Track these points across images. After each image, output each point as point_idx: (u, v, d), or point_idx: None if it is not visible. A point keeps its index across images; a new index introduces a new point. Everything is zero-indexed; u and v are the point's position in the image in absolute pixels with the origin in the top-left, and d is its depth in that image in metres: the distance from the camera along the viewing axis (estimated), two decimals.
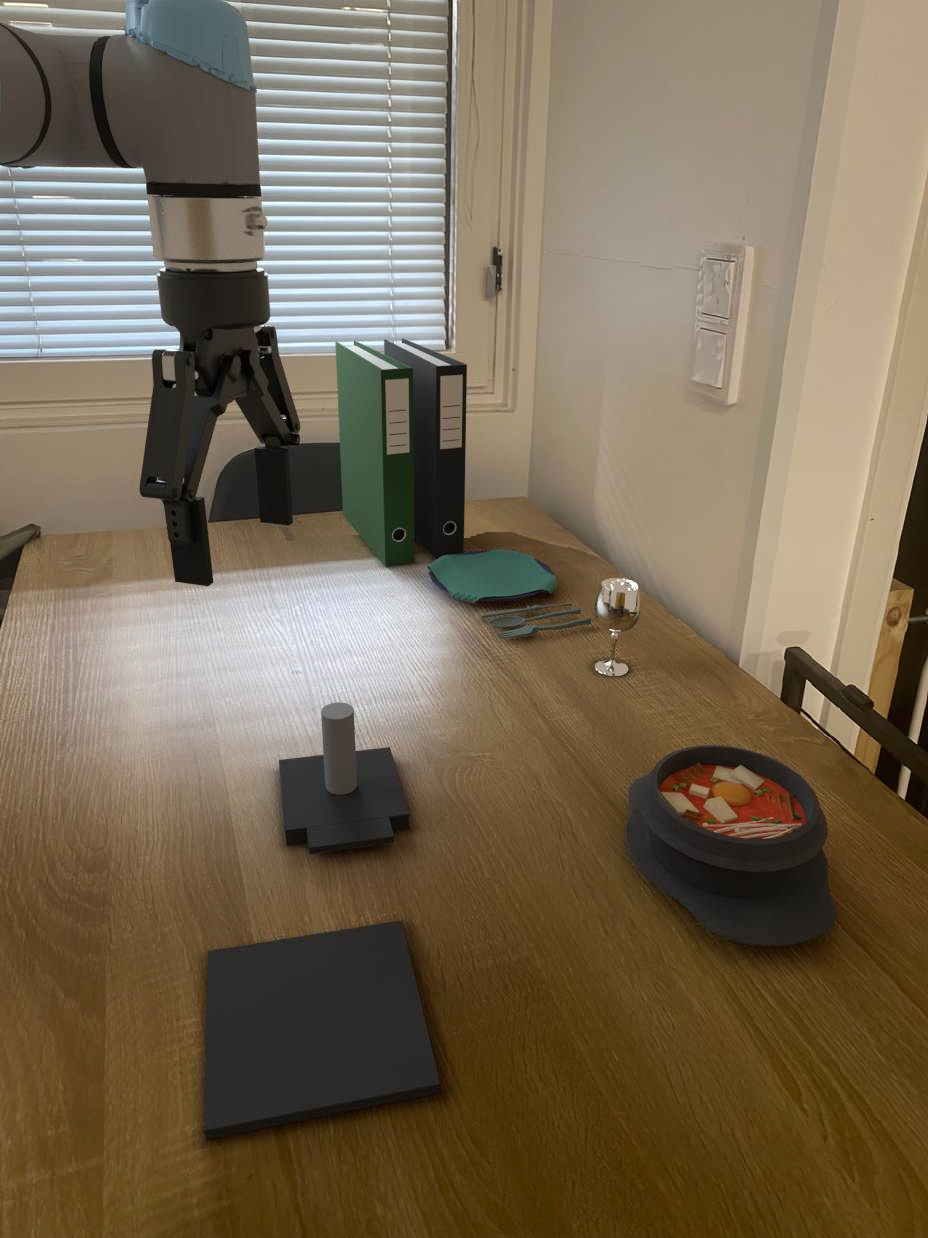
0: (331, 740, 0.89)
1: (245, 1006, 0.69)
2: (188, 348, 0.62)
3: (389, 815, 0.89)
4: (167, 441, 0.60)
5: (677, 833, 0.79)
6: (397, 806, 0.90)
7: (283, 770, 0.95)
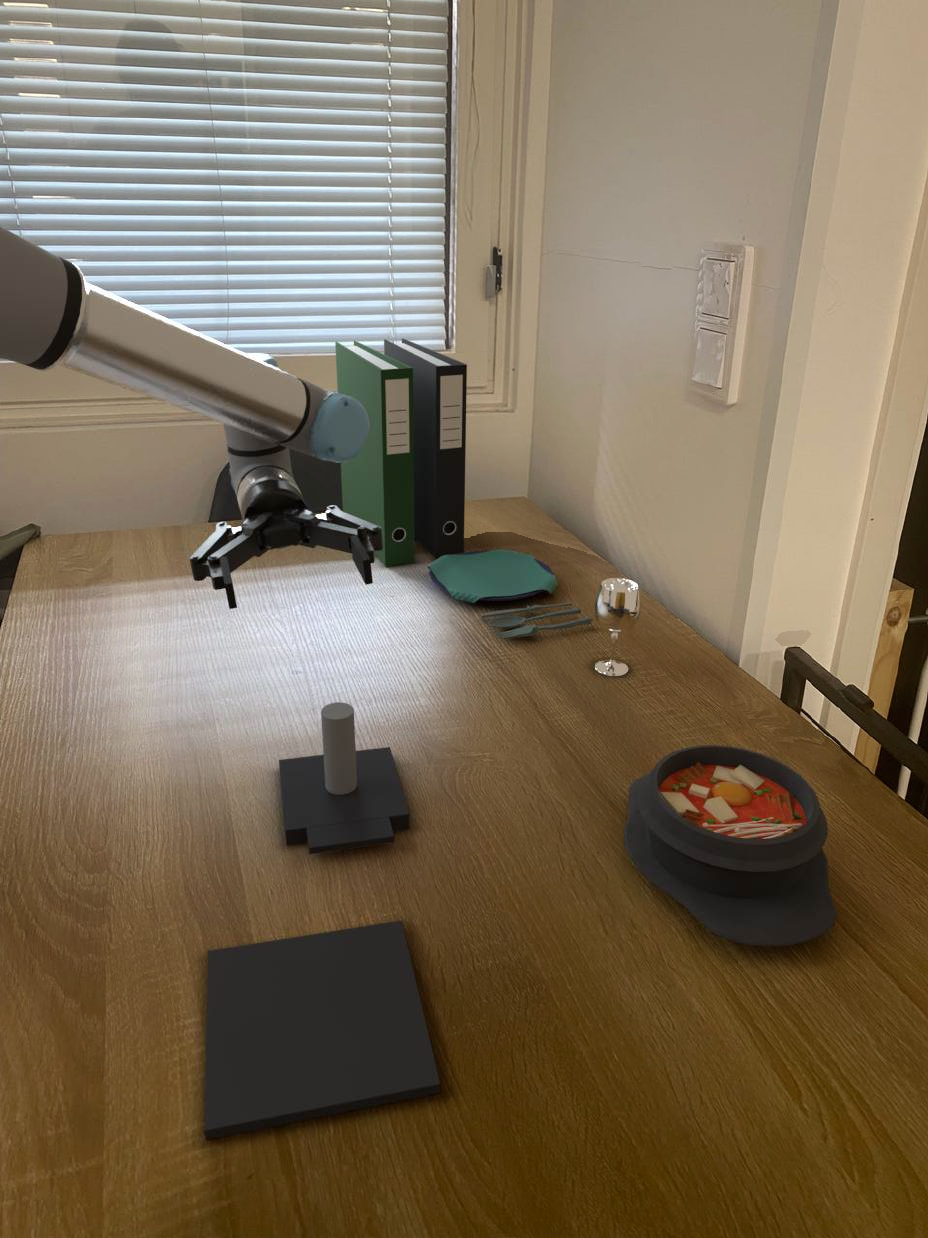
0: (331, 740, 0.89)
1: (245, 1006, 0.69)
2: None
3: (389, 815, 0.89)
4: None
5: (677, 833, 0.79)
6: (397, 806, 0.90)
7: (283, 770, 0.95)
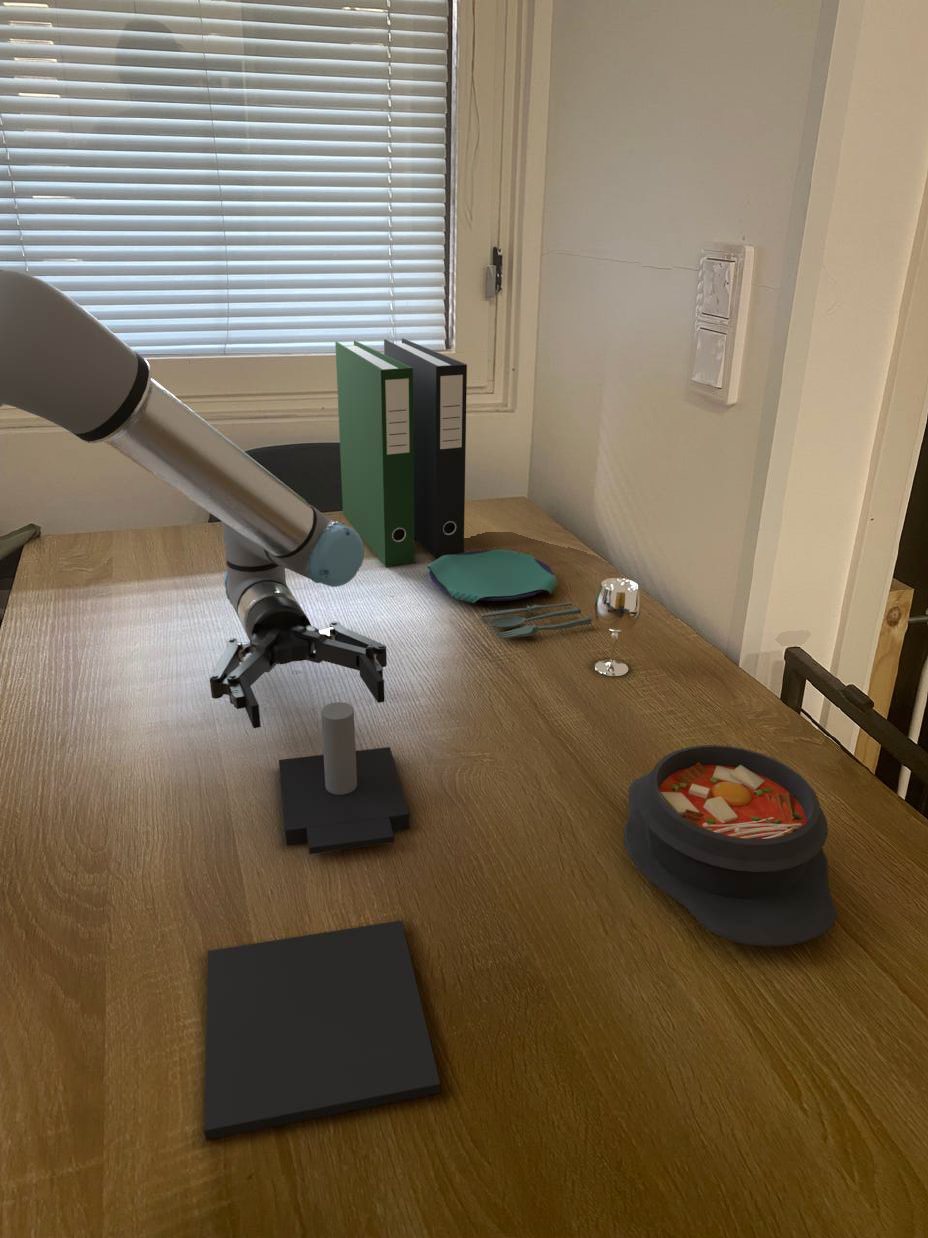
0: (331, 740, 0.89)
1: (245, 1006, 0.69)
2: None
3: (389, 815, 0.89)
4: None
5: (677, 833, 0.79)
6: (397, 806, 0.90)
7: (283, 770, 0.95)
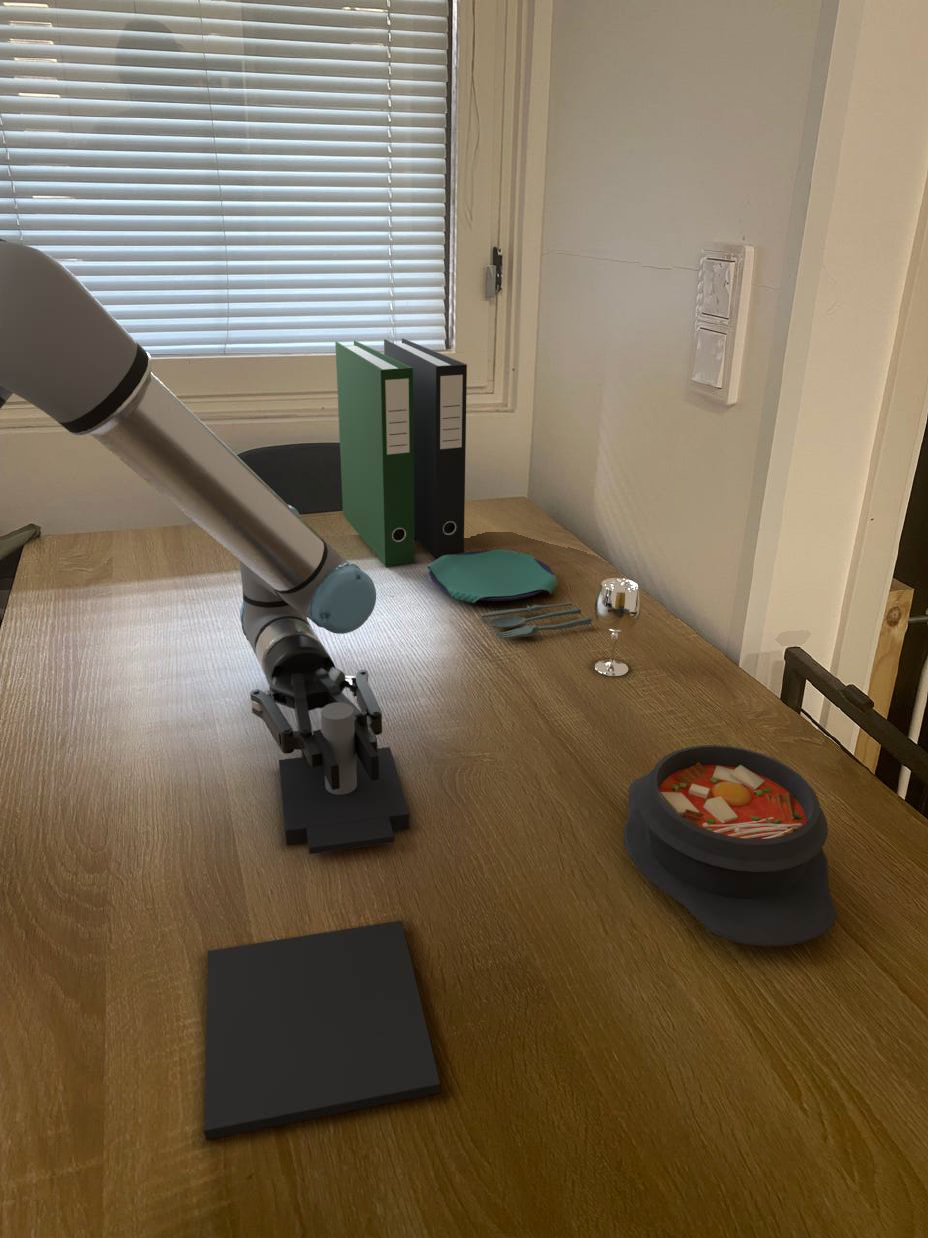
0: (331, 740, 0.89)
1: (245, 1006, 0.69)
2: None
3: (389, 815, 0.89)
4: None
5: (677, 833, 0.79)
6: (397, 806, 0.90)
7: (283, 770, 0.95)
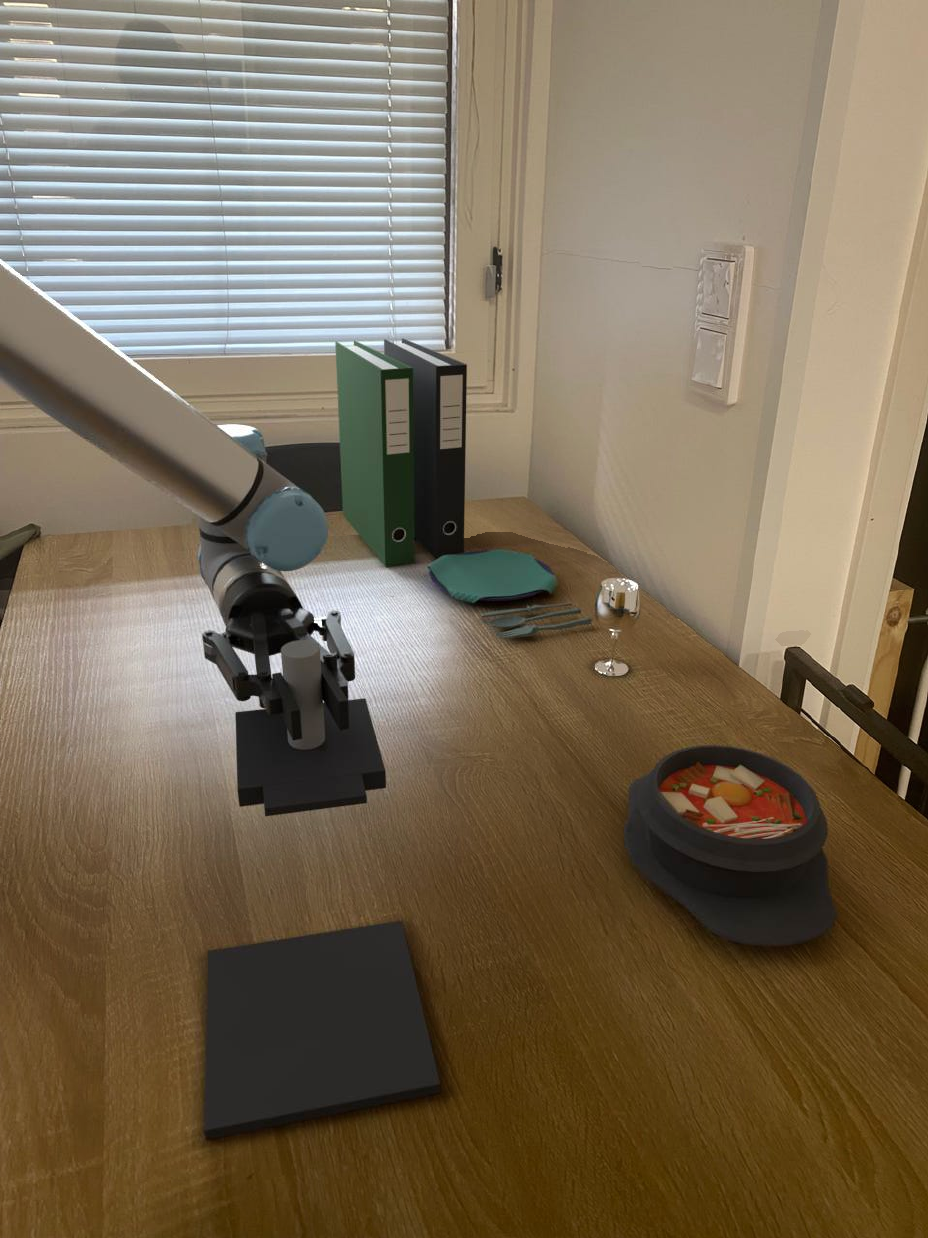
0: (293, 684, 0.75)
1: (245, 1006, 0.69)
2: None
3: (362, 772, 0.75)
4: None
5: (677, 833, 0.79)
6: (371, 761, 0.77)
7: (239, 723, 0.82)
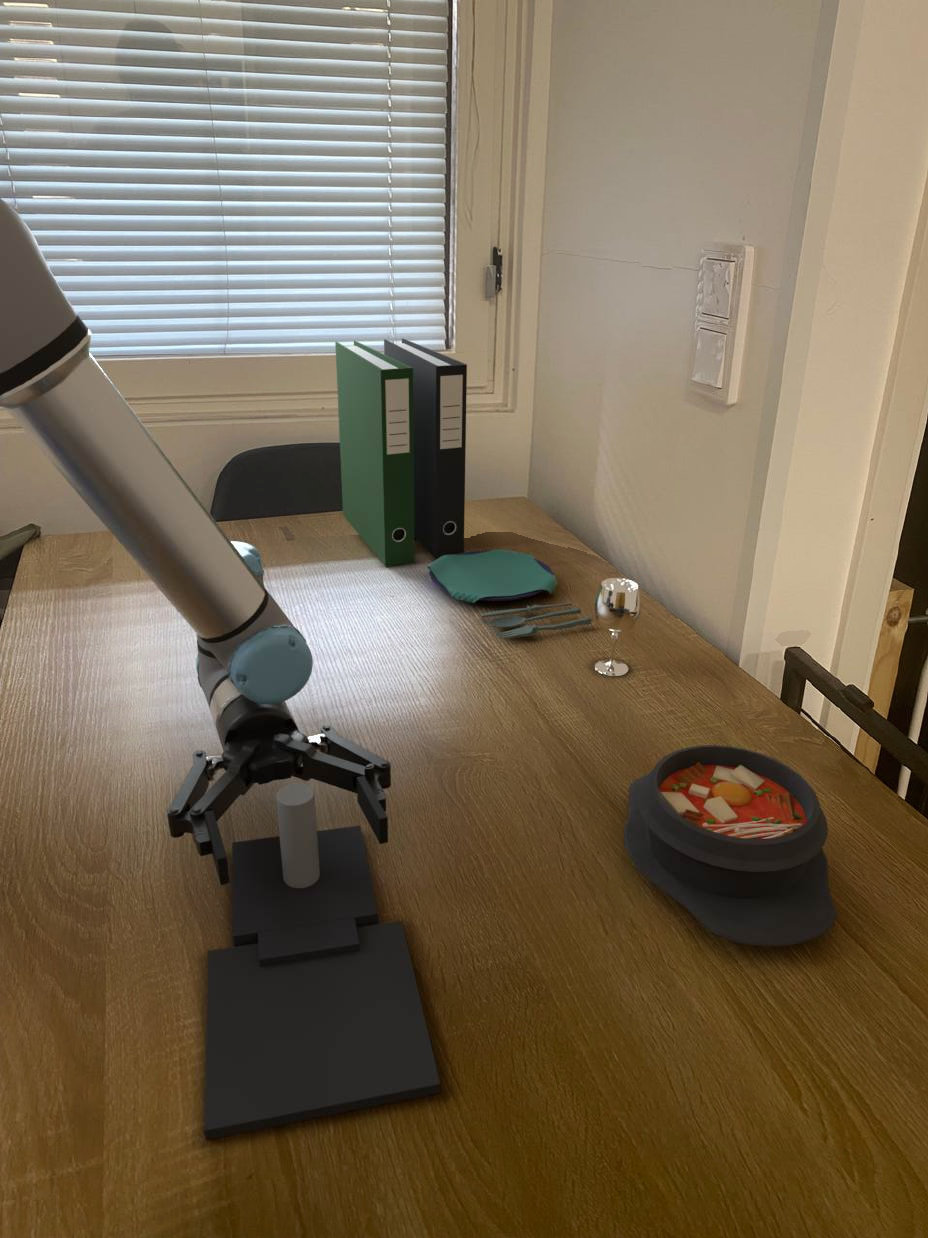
0: (288, 829, 0.77)
1: (245, 1006, 0.69)
2: None
3: (355, 915, 0.77)
4: None
5: (677, 833, 0.79)
6: (364, 903, 0.78)
7: (236, 856, 0.83)
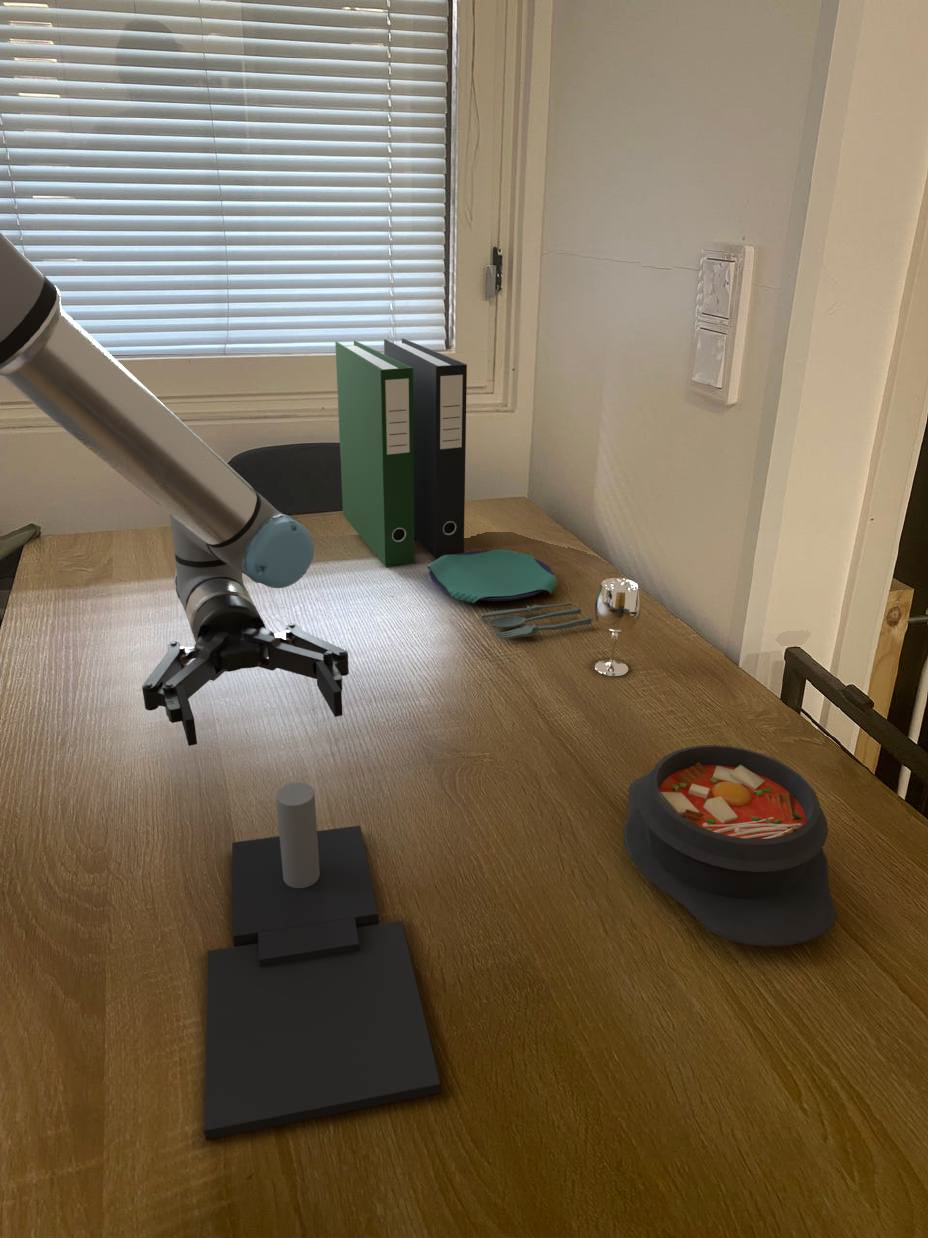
0: (288, 829, 0.77)
1: (245, 1006, 0.69)
2: None
3: (355, 915, 0.77)
4: None
5: (677, 833, 0.79)
6: (364, 903, 0.78)
7: (236, 856, 0.83)
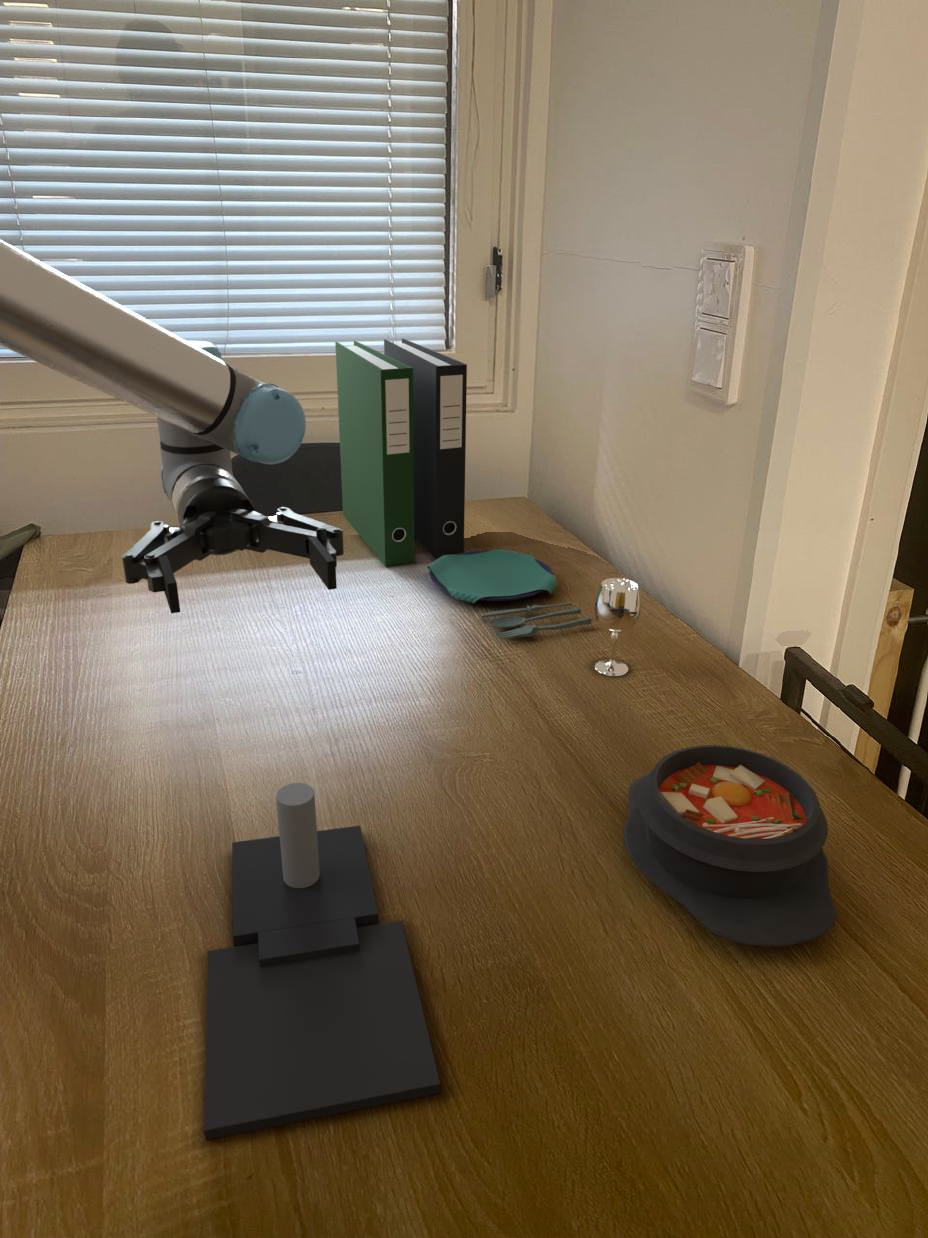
0: (288, 829, 0.77)
1: (245, 1006, 0.69)
2: None
3: (355, 915, 0.77)
4: None
5: (677, 833, 0.79)
6: (364, 903, 0.78)
7: (236, 856, 0.83)
